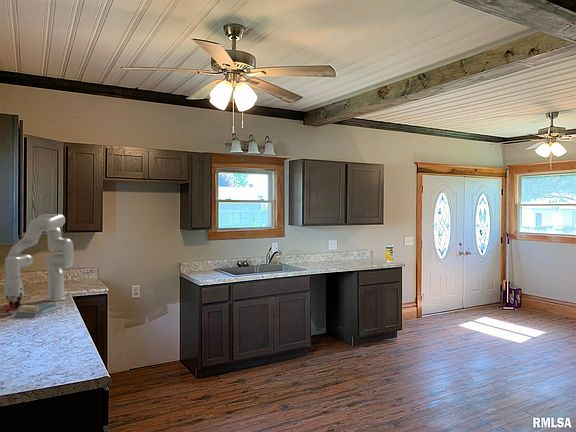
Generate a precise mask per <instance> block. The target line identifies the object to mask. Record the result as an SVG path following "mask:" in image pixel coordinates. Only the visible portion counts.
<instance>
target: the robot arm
mask: <svg viewBox="0 0 576 432" xmlns="http://www.w3.org/2000/svg"><path fill="white" fill-rule="evenodd" d="M65 223H66V218H65V215H63V214H61V213H44V214H40V215H39V216H38V217H37V218H33V219H31V221H30V222H29V224H28V226H27V228H26V231H25V232H24V236H23V237H22V238H21V239H20V240H19V241H17V242H16V243H15V244H14V245H13V246H12V247H11V248H10V249H9V252H8V253H7V257H5V258H4V265H5V267H4V268H5V275H4V277H5V279H4V282H3V297H4V298H6V299H7V301H8V305H10V304H12V302H11V301H10V300H9V298H10V297H15V298H14V300H15V308H18V307H19V306H21V300H22V299H23V298H24V297H25V293H24V284H23V279H22V278H21V277H22V276H21V268H27V267H29V266H31V265H32V264H33V262H34V257H32V256H31V255H30V254H24V253H23V254H22V251H24V250H25V249H28V248H30V247H33V246H35V245H37V244H38V243H39V240H40V238H41V236H42V233H43V232H46V235H47V249H48V251H50V253H51V252H52V253H51V254H49V255H47V257H46V258H45V263H46V266H47V277H48V278H47V280H48V281H47V282H48V287H47V288H48V292H47V293H48V297H46V299H45V300H46V301H45V302H57V301H64V300H66V299H67V296H66V295H68V294H69V292H68V291H67V290H66V291H65V274H64V271H63V269H64V268H65V269H69V268H71V267H73V265H74V264H75V255H74V244H73V240H71V239H70V238H66V237H65V238H64V237H63V236H62V231H61V227H63V226H64V225H65ZM20 295H21V296H20Z"/></svg>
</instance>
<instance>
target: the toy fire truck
mask: <svg viewBox="0 0 576 432" xmlns="http://www.w3.org/2000/svg"><path fill="white" fill-rule="evenodd" d="M20 296H21V295H20ZM9 300H10V301H11V302H12V304H10V305H9V304H4V305H2V308H1V309H2V313H3V314H9V313H11V312H13V311H14V312H15V311H19V308H15V301H16V299H15V297H10V298H9Z"/></svg>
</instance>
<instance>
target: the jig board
mask: <svg viewBox="0 0 576 432" xmlns="http://www.w3.org/2000/svg"><path fill="white" fill-rule="evenodd" d="M34 306H39V311H38V312H35V313H30V312H19V310H17V311H16V312H15V314H14V317H23V318H24V317H25V318H26V317H27V318H37V317H40V316H42V315H43V316H44V315H46V314H48V313H52V312H53V311H58V310H60V309H62V308H63V306H60V305H56V301H53V302H51V303H48V301H45V302H43V303H39V304H36V305H34Z"/></svg>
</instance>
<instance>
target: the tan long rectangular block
mask: <svg viewBox="0 0 576 432" xmlns="http://www.w3.org/2000/svg"><path fill="white" fill-rule="evenodd" d="M18 308H19V309H18V311H19V312H30V313H35V312H38V311H39V306H35V305H31V304H30V305H29V304H28V305H25V304H23V305H20V306H19V307H18Z"/></svg>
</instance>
